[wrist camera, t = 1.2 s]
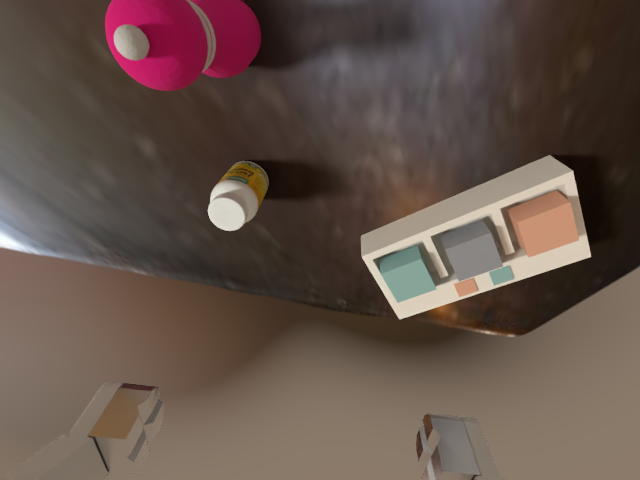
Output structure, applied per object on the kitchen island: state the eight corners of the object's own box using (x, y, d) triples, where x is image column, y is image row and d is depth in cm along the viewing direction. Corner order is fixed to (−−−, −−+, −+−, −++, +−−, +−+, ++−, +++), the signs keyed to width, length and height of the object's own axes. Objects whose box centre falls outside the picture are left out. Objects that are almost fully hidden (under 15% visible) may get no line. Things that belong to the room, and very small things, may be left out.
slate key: (482, 219, 41) (490, 232, 38) (494, 251, 43) (503, 266, 40) (439, 236, 42) (444, 250, 40) (453, 266, 44) (459, 281, 42)
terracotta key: (556, 190, 38) (570, 202, 35) (564, 226, 40) (579, 240, 38) (507, 209, 40) (517, 222, 37) (518, 243, 42) (528, 257, 39)
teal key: (417, 245, 43) (421, 258, 41) (432, 274, 45) (436, 289, 43) (379, 260, 45) (380, 274, 42) (395, 287, 47) (397, 302, 45)
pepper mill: (280, 37, 35) (215, 51, 19) (235, 87, 38) (143, 137, 21) (227, -29, 33) (96, -83, 16) (183, 29, 36) (32, 36, 19)
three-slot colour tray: (549, 155, 39) (574, 171, 35) (568, 234, 45) (592, 257, 40) (360, 235, 47) (361, 257, 43) (395, 295, 52) (399, 320, 48)
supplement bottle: (235, 201, 46) (210, 239, 38) (222, 162, 43) (192, 195, 35) (274, 196, 45) (257, 234, 37) (263, 156, 42) (242, 188, 34)
